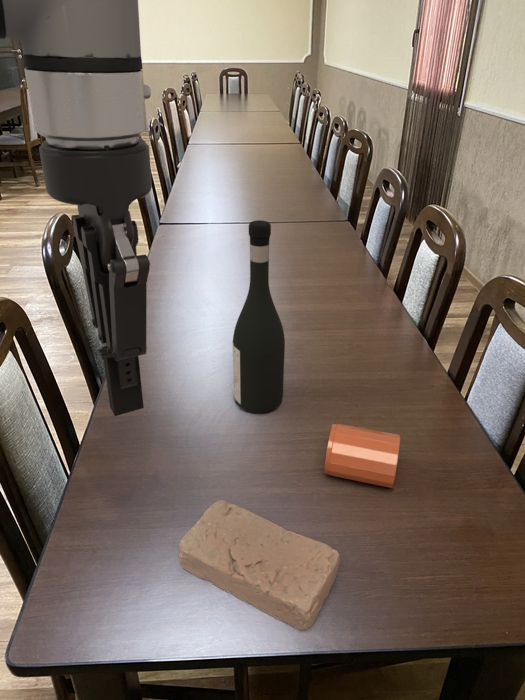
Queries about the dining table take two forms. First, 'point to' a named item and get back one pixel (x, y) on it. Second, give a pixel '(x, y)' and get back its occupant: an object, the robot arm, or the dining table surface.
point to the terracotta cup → (362, 455)
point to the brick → (261, 563)
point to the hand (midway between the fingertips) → (126, 407)
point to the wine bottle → (258, 334)
